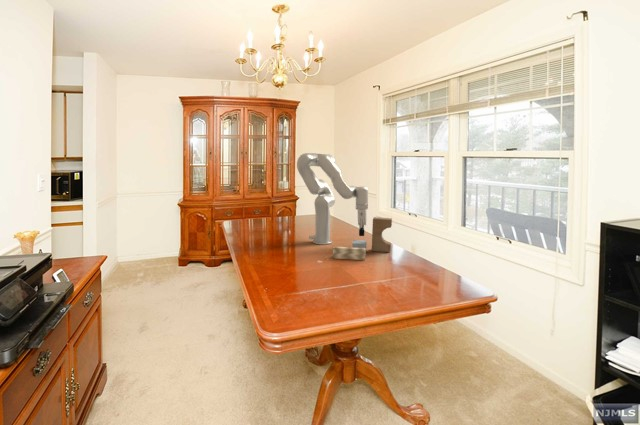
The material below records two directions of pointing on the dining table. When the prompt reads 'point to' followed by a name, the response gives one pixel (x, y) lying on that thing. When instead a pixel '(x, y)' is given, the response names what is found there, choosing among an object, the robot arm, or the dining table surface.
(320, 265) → the dining table surface
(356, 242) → the block
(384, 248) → the decorative block
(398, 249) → the dining table surface
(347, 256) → the board
